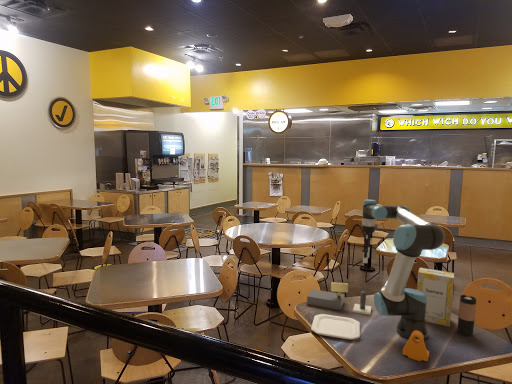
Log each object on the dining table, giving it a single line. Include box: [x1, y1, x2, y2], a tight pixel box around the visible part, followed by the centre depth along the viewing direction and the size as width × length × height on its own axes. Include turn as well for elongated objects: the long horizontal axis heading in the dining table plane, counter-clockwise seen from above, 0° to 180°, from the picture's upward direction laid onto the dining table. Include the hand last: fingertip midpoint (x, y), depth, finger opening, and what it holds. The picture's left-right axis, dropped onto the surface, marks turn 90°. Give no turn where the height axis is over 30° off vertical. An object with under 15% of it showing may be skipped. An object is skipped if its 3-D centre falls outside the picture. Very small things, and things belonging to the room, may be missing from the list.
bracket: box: [402, 331, 430, 362], centre depth 172 cm, size 11×7×12 cm, turn 60°
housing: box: [306, 288, 345, 311], centre depth 232 cm, size 14×21×5 cm, turn 69°
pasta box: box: [416, 267, 455, 328], centre depth 213 cm, size 18×10×28 cm, turn 62°
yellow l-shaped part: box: [330, 281, 349, 298], centre depth 232 cm, size 10×10×9 cm
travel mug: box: [457, 294, 477, 337], centre depth 197 cm, size 8×8×20 cm
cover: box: [352, 290, 373, 316], centre depth 223 cm, size 11×10×12 cm
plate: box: [310, 313, 361, 340], centre depth 197 cm, size 25×25×2 cm
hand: (365, 260), depth 222 cm, fingers open, 13 cm apart
